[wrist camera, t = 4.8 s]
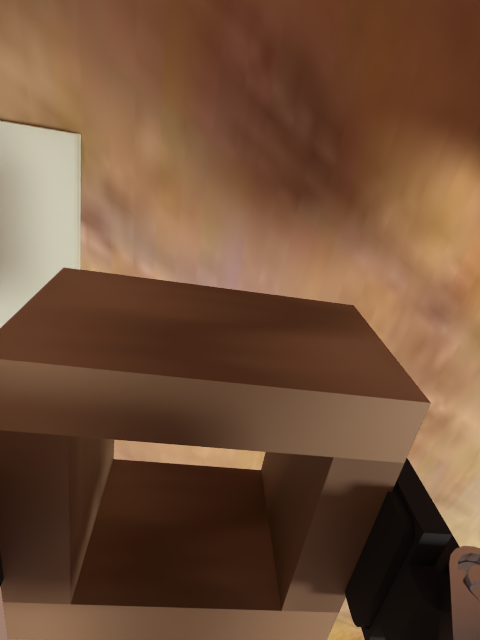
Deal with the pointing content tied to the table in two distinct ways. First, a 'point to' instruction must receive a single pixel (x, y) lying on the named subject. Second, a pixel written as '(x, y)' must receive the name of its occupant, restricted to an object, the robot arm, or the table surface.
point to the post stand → (37, 210)
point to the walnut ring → (190, 480)
